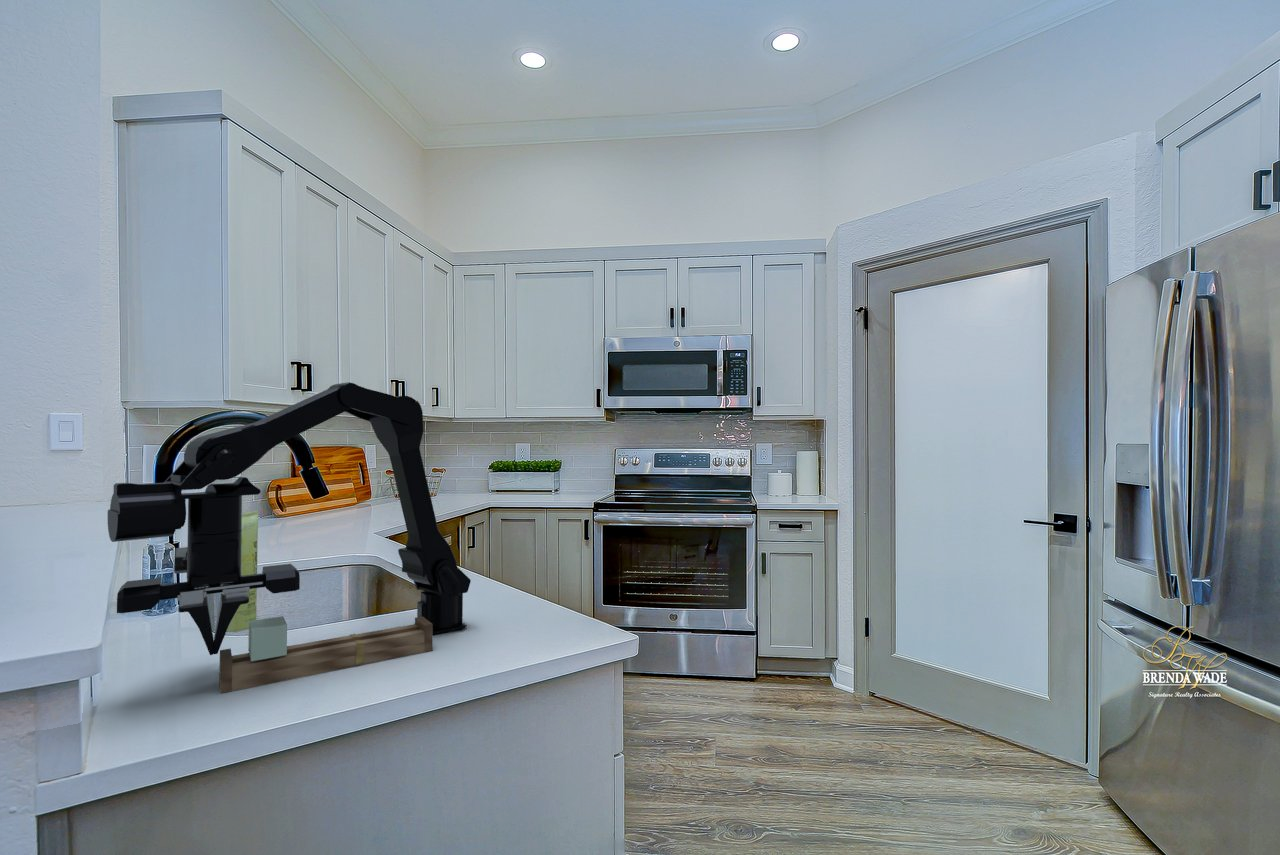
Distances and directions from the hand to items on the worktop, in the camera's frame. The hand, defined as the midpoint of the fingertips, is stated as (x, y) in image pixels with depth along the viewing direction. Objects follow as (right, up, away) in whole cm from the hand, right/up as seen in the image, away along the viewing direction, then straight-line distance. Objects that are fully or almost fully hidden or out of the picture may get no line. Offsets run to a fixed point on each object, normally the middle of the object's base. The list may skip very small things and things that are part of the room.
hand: (213, 653), depth 78 cm
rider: (+5, -3, +3) cm, 6 cm away
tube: (-13, -5, +25) cm, 29 cm away
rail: (+11, -5, +8) cm, 15 cm away
